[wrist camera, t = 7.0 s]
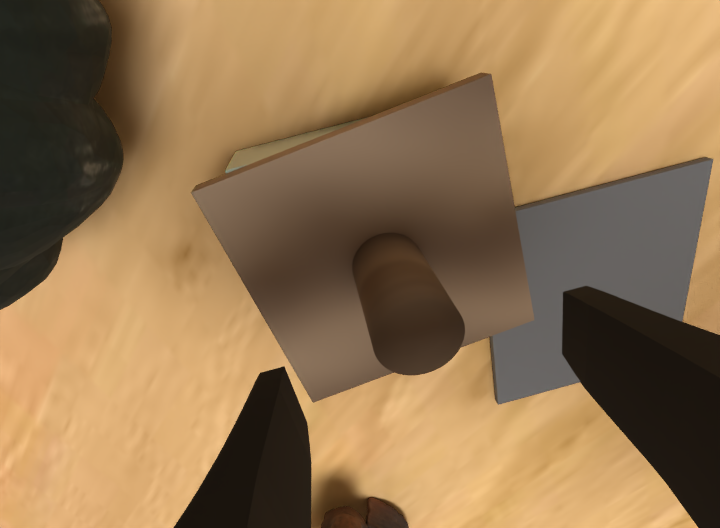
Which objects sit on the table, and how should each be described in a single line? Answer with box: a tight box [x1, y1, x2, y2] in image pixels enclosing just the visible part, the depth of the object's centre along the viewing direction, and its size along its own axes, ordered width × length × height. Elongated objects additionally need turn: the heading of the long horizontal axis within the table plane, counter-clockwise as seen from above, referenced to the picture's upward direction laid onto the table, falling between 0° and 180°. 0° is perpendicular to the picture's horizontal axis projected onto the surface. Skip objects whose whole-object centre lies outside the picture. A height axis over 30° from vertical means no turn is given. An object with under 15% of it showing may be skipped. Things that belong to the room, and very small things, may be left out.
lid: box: [191, 73, 534, 402], centre depth 14 cm, size 10×10×5 cm
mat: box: [490, 157, 713, 405], centre depth 22 cm, size 12×11×1 cm
